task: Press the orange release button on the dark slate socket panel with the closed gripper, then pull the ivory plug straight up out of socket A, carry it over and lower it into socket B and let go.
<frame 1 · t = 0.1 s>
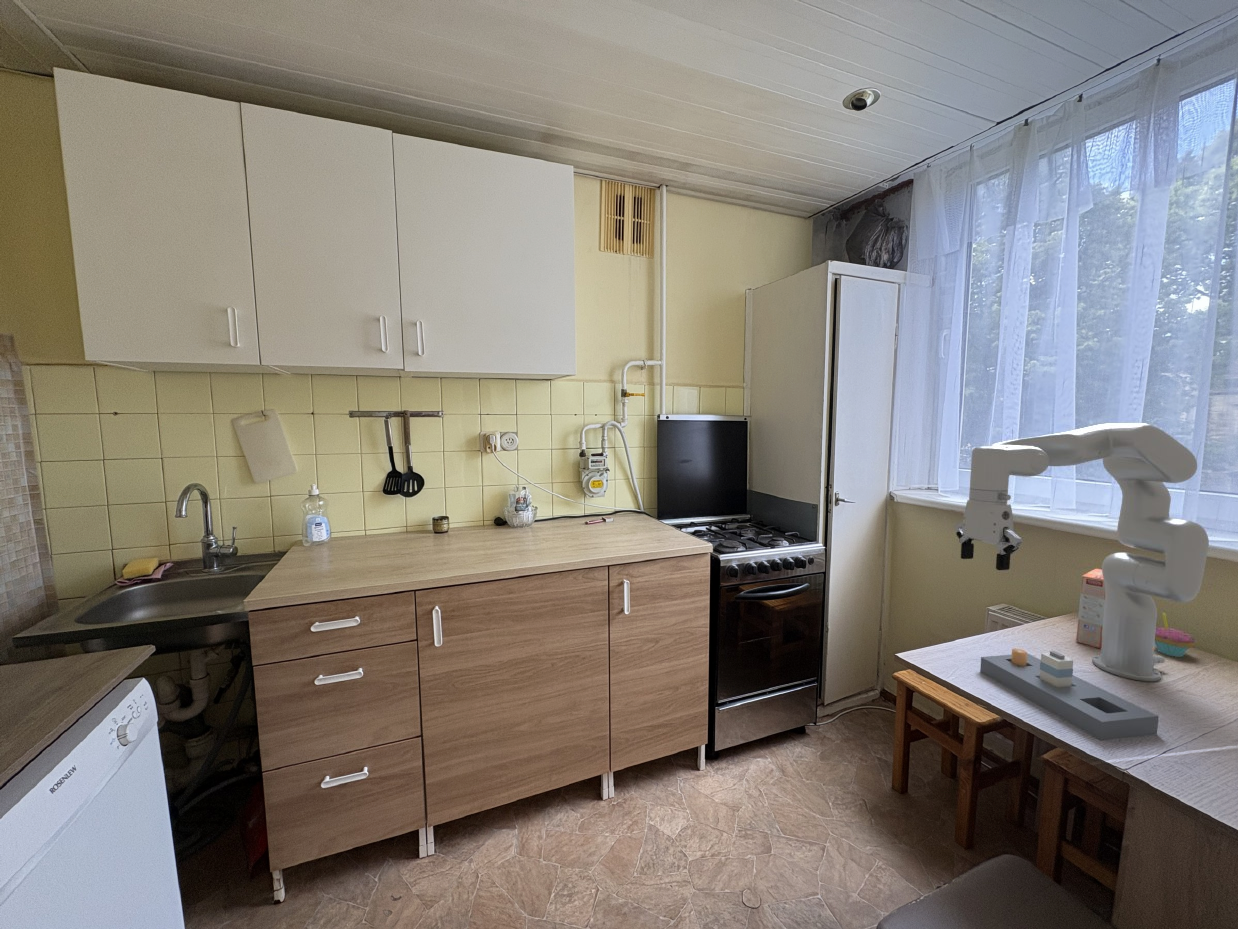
hand: (984, 564, 119), 31 cm above the table, fingers open, 9 cm apart
cracker box: (1095, 641, 145), on the table
panel: (1058, 701, 113), on the table
plug: (1054, 696, 114), resting on panel
cupcake: (1170, 653, 136), on the table
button: (1018, 662, 122), point 5 cm above the table, slide at 0.0 cm
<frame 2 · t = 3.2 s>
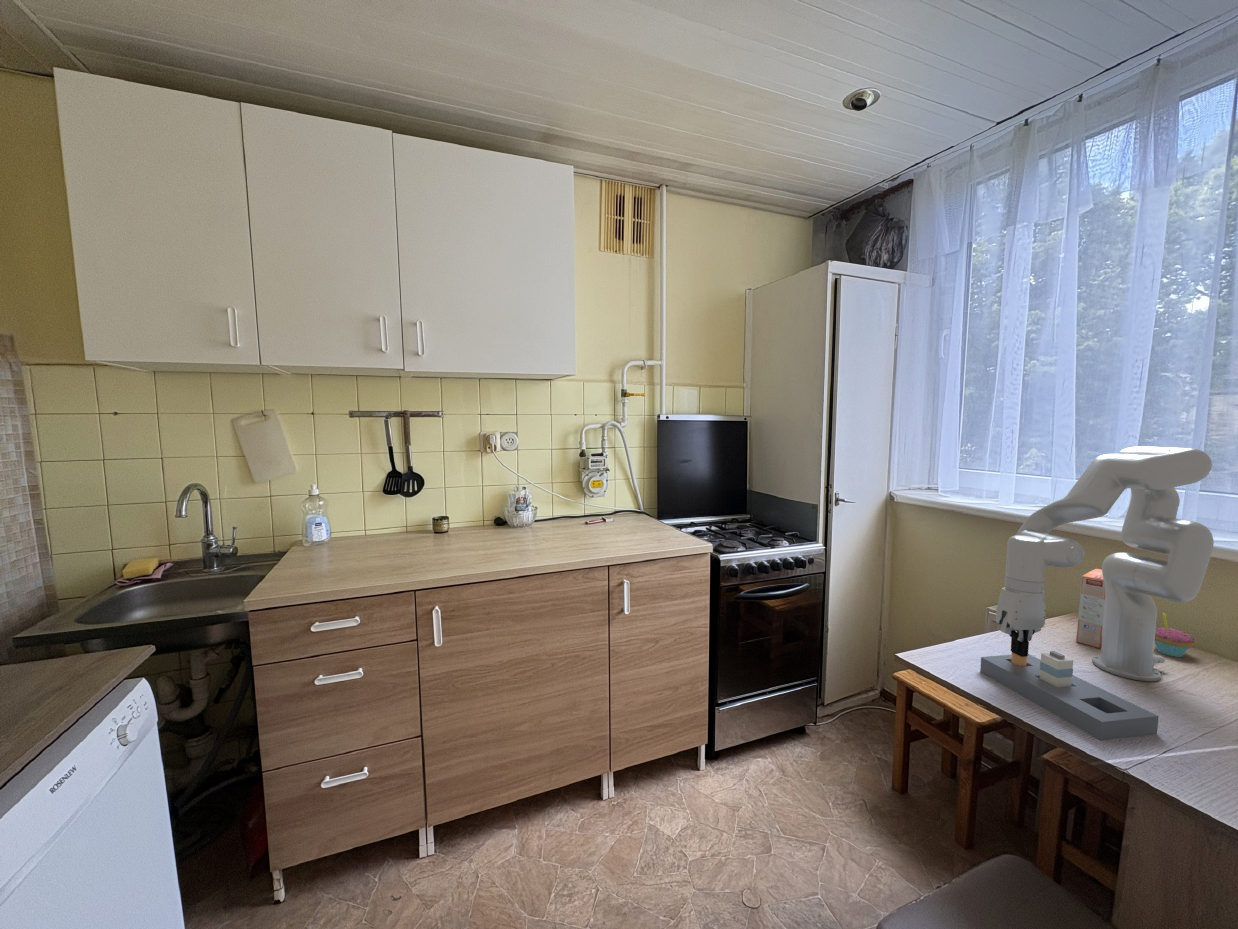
hand: (1019, 653, 122), 7 cm above the table, fingers closed
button: (1018, 665, 122), point 4 cm above the table, slide at 0.7 cm, touching gripper
everything else where it was.
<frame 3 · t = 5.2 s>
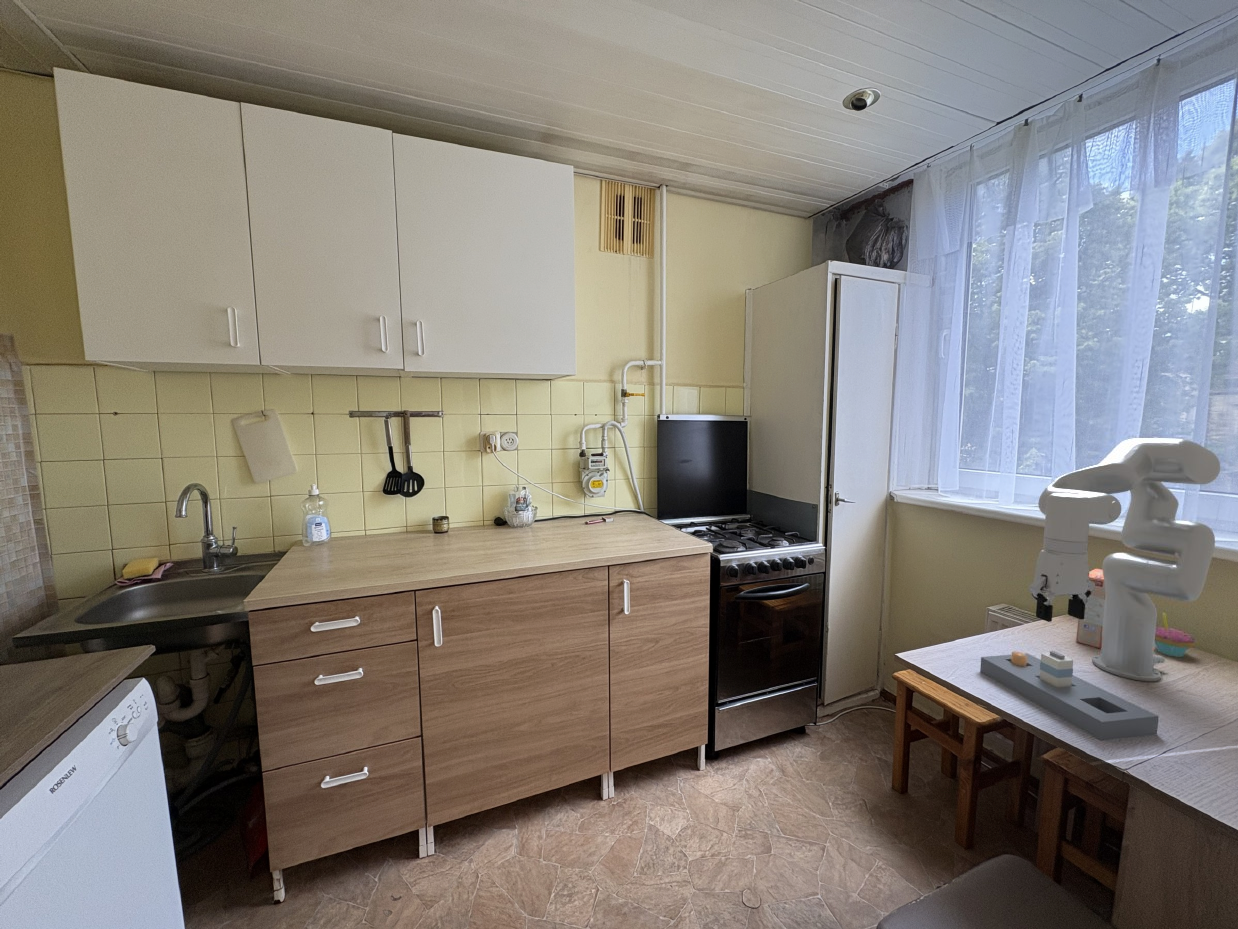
hand: (1059, 618, 112), 20 cm above the table, fingers open, 8 cm apart
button: (1018, 665, 122), point 4 cm above the table, slide at 0.8 cm
everything else where it was.
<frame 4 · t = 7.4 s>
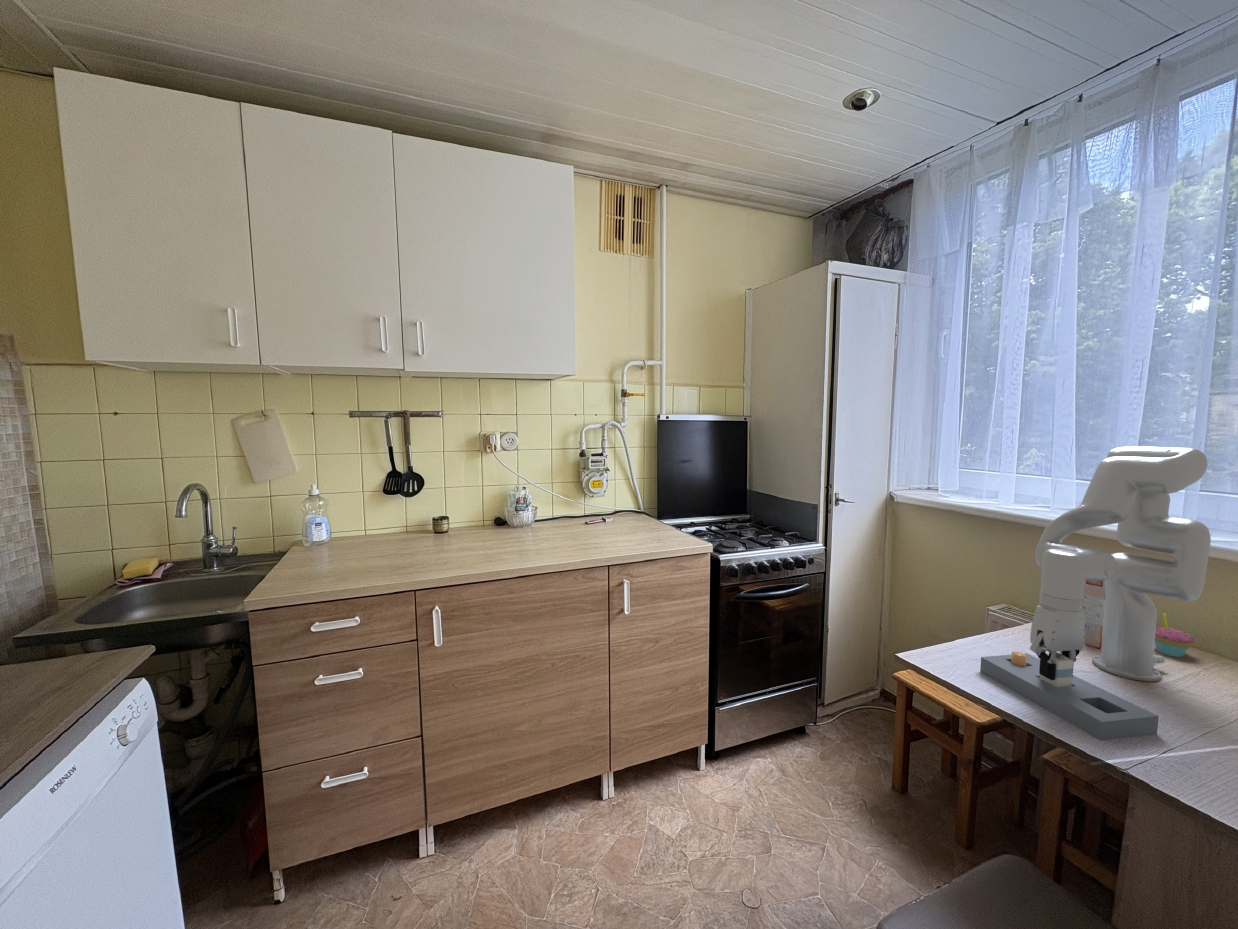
hand: (1055, 675, 113), 6 cm above the table, fingers closed on plug, 4 cm apart
plug: (1054, 696, 114), point 1 cm above the table, touching gripper, panel
everything else where it was.
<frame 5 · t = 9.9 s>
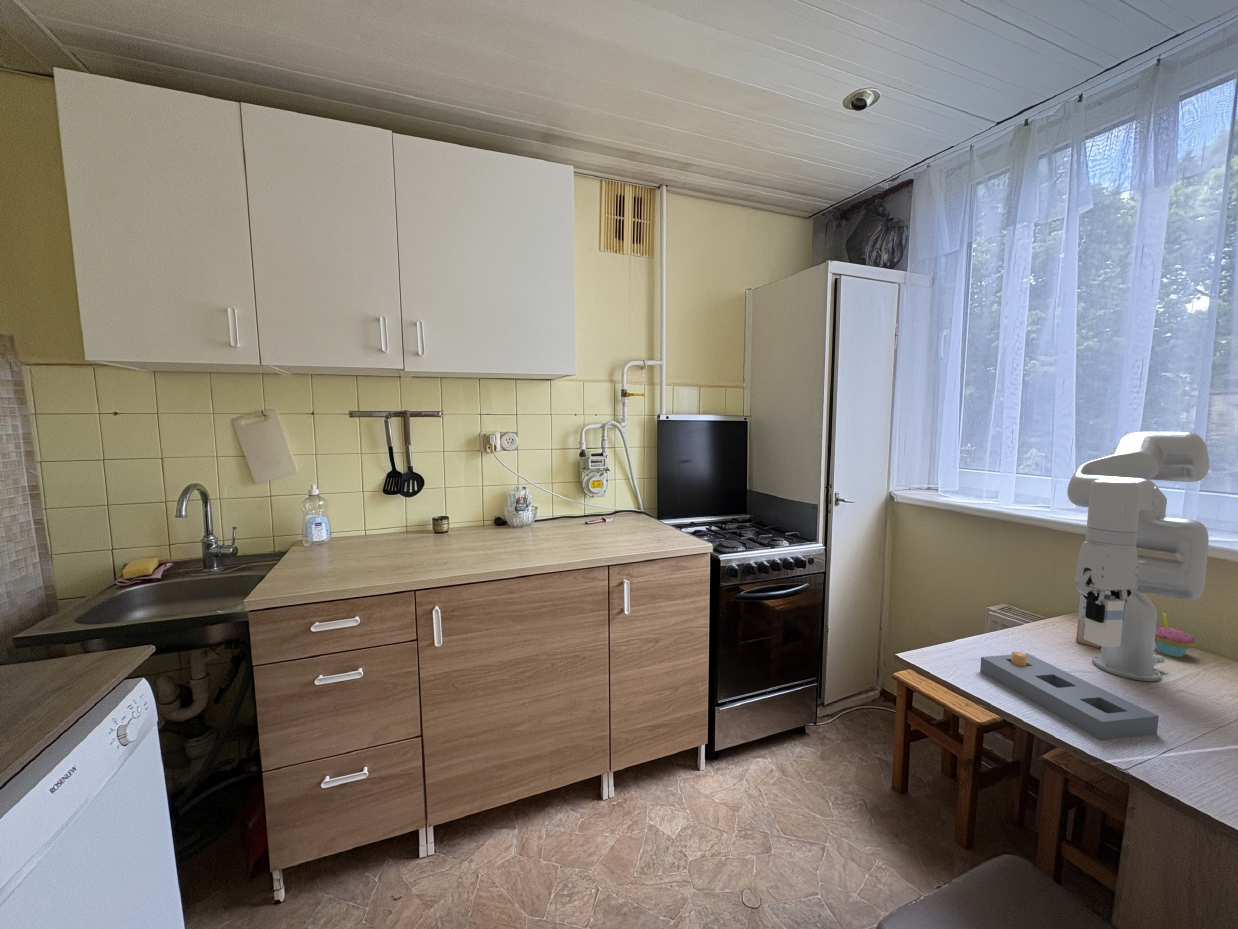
hand: (1104, 619, 103), 24 cm above the table, fingers closed on plug, 4 cm apart
plug: (1101, 642, 103), point 18 cm above the table, touching gripper
everything else where it was.
when the fingers open (7 cm above the table, at t = 12.8 s): plug stays where it is, resting on panel.
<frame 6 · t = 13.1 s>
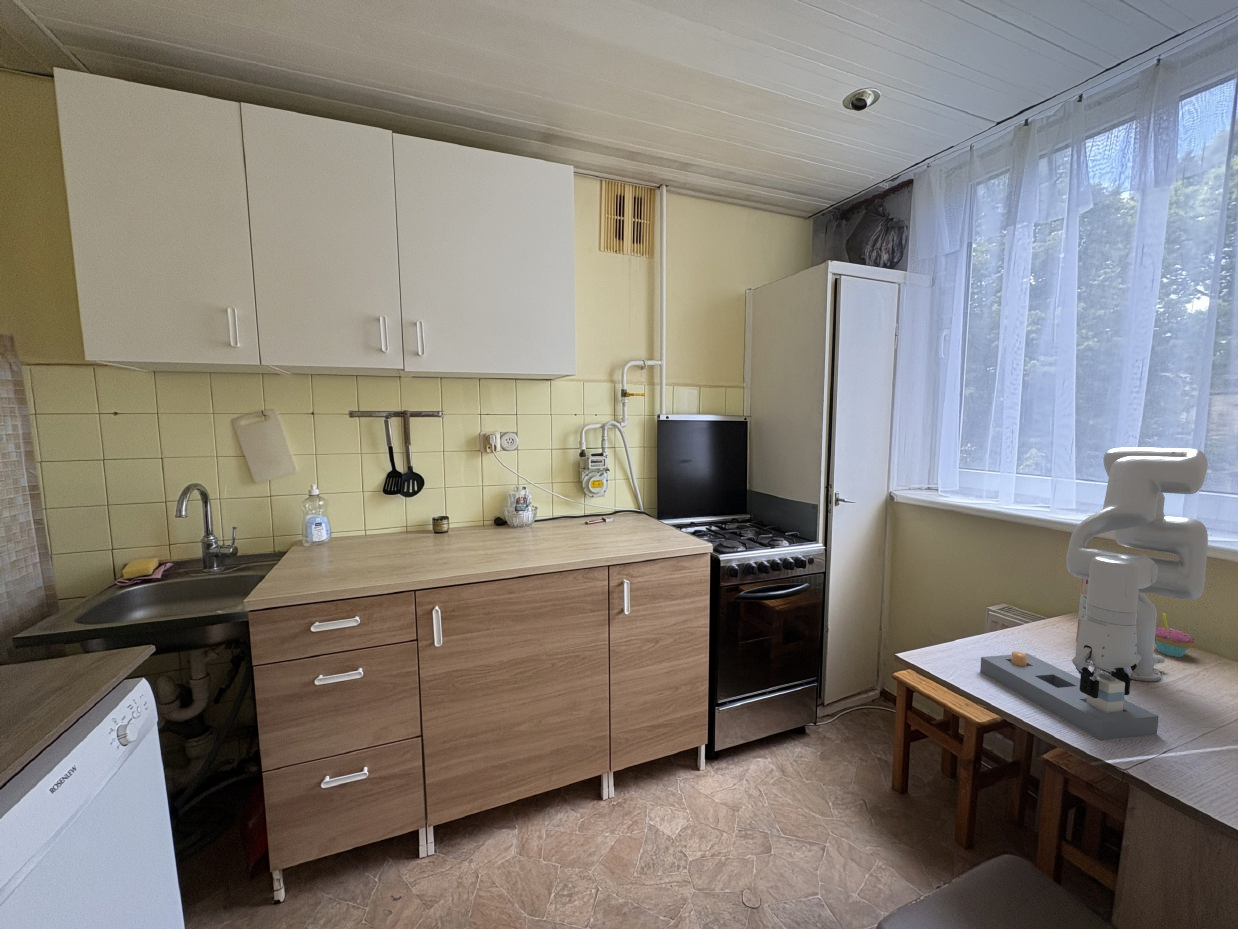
hand: (1104, 692, 103), 7 cm above the table, fingers open, 7 cm apart
plug: (1102, 722, 104), resting on panel
everything else where it was.
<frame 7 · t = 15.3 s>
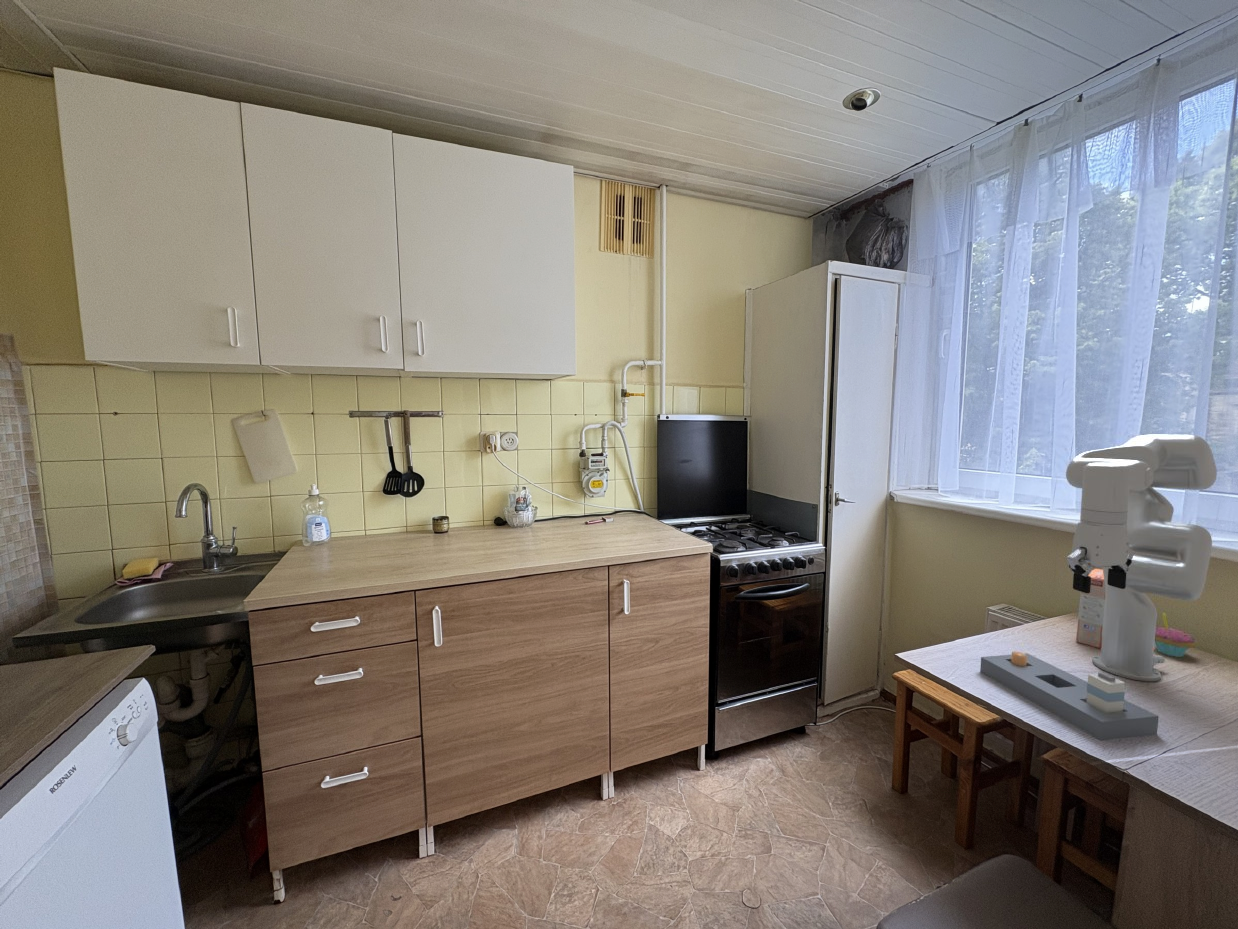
hand: (1098, 589, 110), 28 cm above the table, fingers open, 9 cm apart
nothing on the table moved.
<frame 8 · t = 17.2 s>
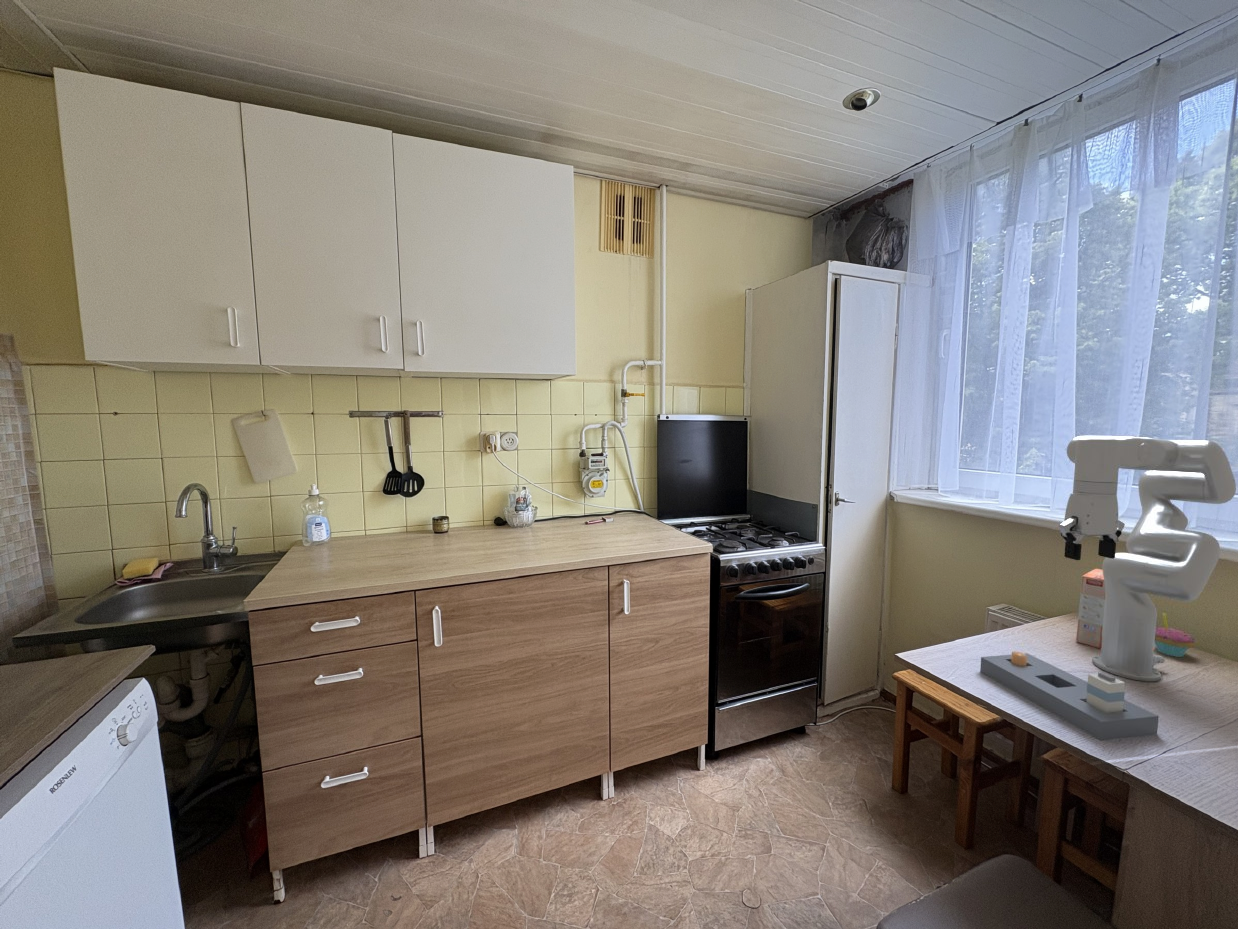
hand: (1089, 557, 116), 33 cm above the table, fingers open, 9 cm apart
nothing on the table moved.
at the end: plug 0.3 cm from the target spot on the panel, point 0.5 cm above the panel's base; plug tilted 0°; the gripper is holding nothing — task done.
